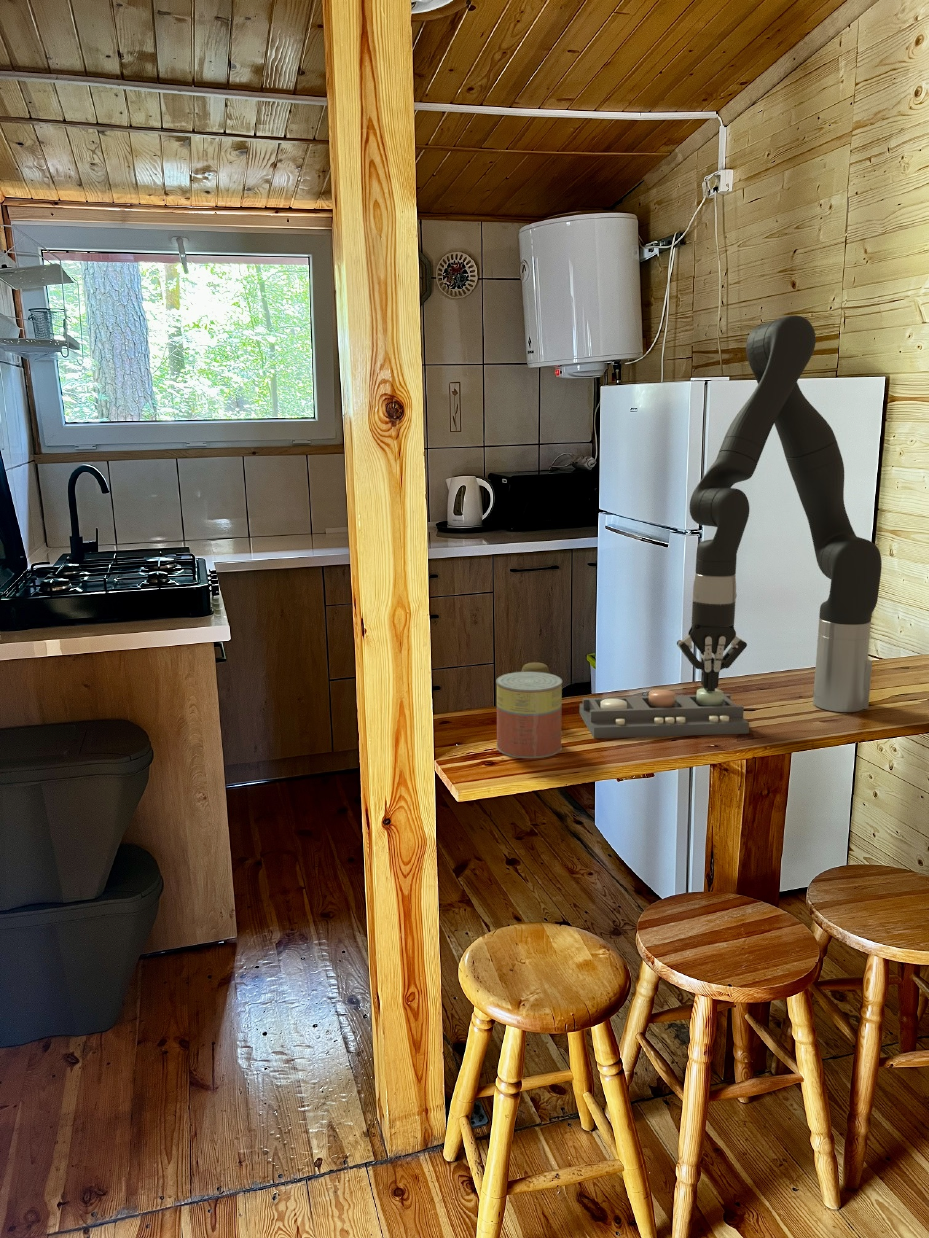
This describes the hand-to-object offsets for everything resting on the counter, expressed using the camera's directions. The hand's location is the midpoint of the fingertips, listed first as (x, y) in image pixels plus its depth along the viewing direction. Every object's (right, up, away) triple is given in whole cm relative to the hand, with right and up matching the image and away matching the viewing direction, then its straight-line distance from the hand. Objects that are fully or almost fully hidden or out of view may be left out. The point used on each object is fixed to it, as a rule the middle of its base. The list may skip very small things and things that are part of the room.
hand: (709, 690), depth 171 cm
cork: (-32, -6, +3) cm, 33 cm away
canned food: (-34, -9, -11) cm, 37 cm away
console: (-9, -6, +1) cm, 11 cm away
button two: (0, -2, 0) cm, 2 cm away
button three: (-9, -2, 0) cm, 9 cm away
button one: (-18, -4, 0) cm, 18 cm away
